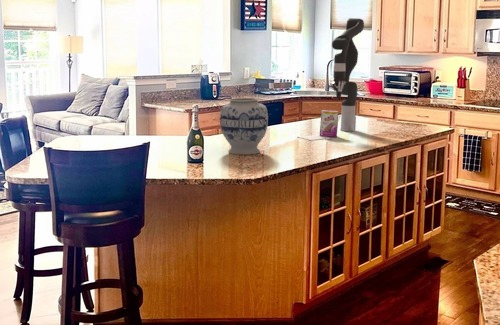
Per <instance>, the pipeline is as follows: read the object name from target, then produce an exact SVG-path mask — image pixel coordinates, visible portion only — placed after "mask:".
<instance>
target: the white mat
mask: <svg viewBox="0 0 500 325" xmlns="http://www.w3.org/2000/svg"><path fill="white" fill-rule="evenodd" d="M297 138H299V139H302V140H306V141H318V140H319V141H321V140H327V139H331V137H327V136H320V134H312V135H300V136H297Z"/></svg>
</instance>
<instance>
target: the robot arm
mask: <svg viewBox="0 0 500 325" xmlns="http://www.w3.org/2000/svg"><path fill="white" fill-rule="evenodd" d="M345 25H346V27H345V31H343V32H342V33H341V35H338V36H336V37H335V38H334V39H333V40H332V42H331V47H332V49H334V50H335V51H338V50H339V51H341V52H340V53H335V54H334V56H333V57H334V58H333V59H334V61H333V63H334V64H333V76H332V77H333V82H330V86H331V88H332V90H333V91H335V92H336V93H335V95H336V98H340V99H341V97H342V95H343V96H347V98H346V99H344V100H342V101H341V109H340V110H341V112H340V113H341V116H340V131H342V132H354V131H356V129H357V128H356V127H357V124H356V123H357V122H356V121H357V116H356V103H357V100H358V99H357V96H358V85H357V83H356V82H355V81H350V78H351V74H352V72H353V70H354V69H355V67H356V66H357V64H358V58H359V51H358V49H357V47H356V44H355V43H354V41H353V40H354V39H353V38H355V37H357V36H358V35H359V34H361V33H362V32H363V30H364V27H365V22H364V19H362V18H351V17H350V18H348V19H347V20H346V24H345Z"/></svg>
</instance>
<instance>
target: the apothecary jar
mask: <svg viewBox="0 0 500 325" xmlns="http://www.w3.org/2000/svg"><path fill="white" fill-rule="evenodd" d="M258 101H259V99H258V98H255V97H238V98H230V99H229V103H227V104H225V105H223V106H222V107H221V108H220V111H219V124H220V125H219V126H220V130H221V133H222V135H223V137H224V139H225V140H226V141H227V143H228V144H229V145H230V149H228V153H229V154H231V155H236V156H237V155H239V156H240V155H241V156H243V155H247V156H248V155H249V156H250V155H256V154H259V153H260V151H261V150H260V149H259V148H258V146H259V144H260V143H261V141H262V140H263V139H264V137H265V136H266V133H267V130H268V125H269V124H268V123H269V113H268V109H267V106H266V105H265V104H263V103H260V102H258Z"/></svg>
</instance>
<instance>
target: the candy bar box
mask: <svg viewBox="0 0 500 325" xmlns="http://www.w3.org/2000/svg"><path fill="white" fill-rule="evenodd" d="M339 114H340V113H339V111H338V110H321V114H320V124H319V135H320V136H325V137H329V138H338V137H337V136H338V127H339V124H338V123H339Z"/></svg>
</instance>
